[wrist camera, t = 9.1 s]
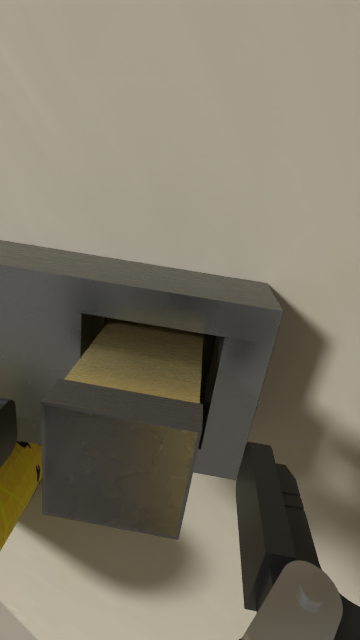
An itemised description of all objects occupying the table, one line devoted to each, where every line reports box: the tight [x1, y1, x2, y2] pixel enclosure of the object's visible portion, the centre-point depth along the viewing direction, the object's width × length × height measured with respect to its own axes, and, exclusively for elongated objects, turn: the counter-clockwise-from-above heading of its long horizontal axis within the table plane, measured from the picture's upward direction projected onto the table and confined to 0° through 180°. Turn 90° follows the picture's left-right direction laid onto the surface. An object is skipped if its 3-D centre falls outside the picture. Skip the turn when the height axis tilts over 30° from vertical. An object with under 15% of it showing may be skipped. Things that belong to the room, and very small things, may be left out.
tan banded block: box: [41, 318, 204, 540], centre depth 14 cm, size 5×5×9 cm
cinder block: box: [0, 240, 283, 480], centre depth 17 cm, size 9×20×4 cm, turn 81°
